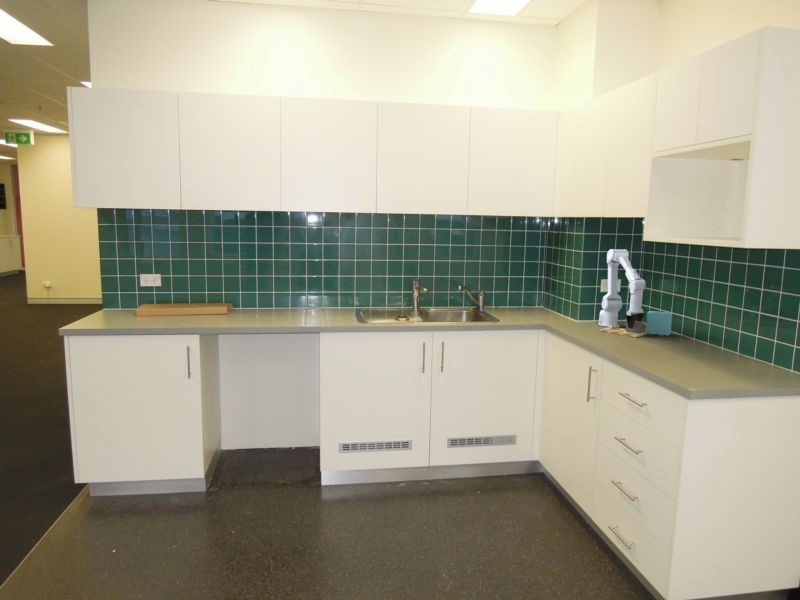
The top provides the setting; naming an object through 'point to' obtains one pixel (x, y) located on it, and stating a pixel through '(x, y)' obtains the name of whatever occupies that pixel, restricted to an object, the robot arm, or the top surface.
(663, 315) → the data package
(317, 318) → the top surface
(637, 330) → the block
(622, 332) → the board
